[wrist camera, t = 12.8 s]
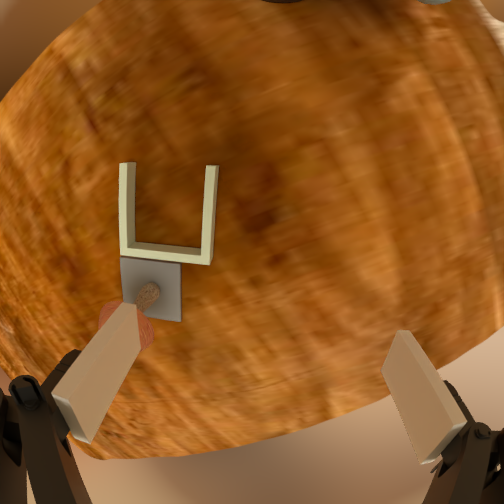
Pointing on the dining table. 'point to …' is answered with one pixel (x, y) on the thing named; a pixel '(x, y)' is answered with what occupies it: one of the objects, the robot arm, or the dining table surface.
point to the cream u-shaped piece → (159, 250)
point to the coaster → (160, 273)
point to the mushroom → (142, 302)
